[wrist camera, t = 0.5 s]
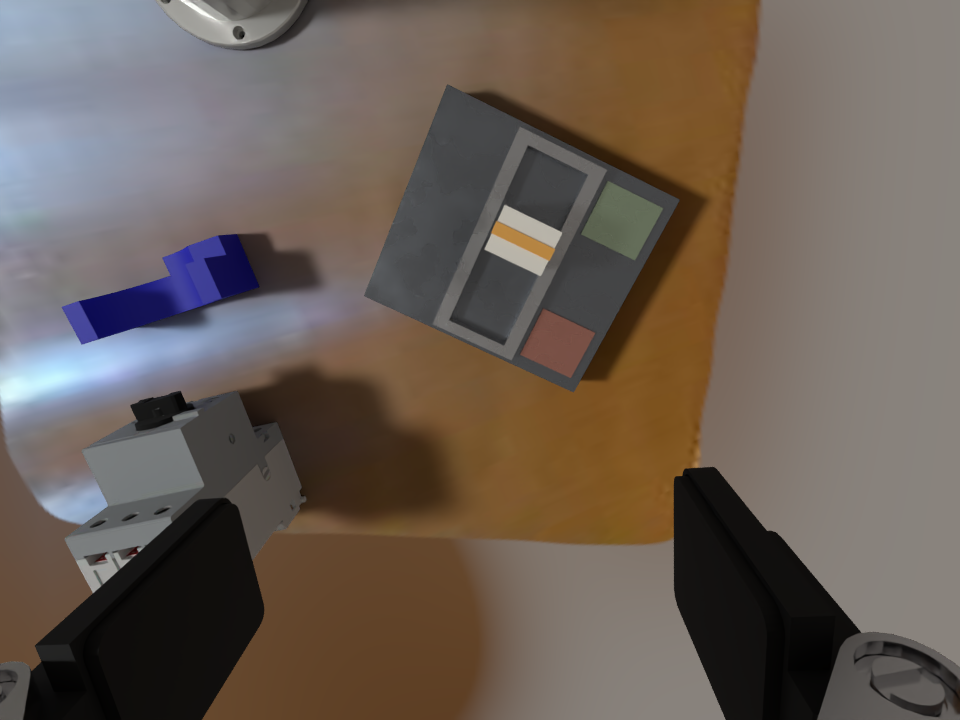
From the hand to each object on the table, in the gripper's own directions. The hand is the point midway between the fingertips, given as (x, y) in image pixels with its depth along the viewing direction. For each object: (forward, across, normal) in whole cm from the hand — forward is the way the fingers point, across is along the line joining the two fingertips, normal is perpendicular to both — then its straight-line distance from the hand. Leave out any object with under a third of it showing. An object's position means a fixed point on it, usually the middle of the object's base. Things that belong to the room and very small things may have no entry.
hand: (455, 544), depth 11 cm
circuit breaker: (+32, +24, +10) cm, 42 cm away
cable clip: (+32, +26, -4) cm, 42 cm away
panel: (+32, -2, -4) cm, 32 cm away
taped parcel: (+29, -2, -5) cm, 29 cm away
